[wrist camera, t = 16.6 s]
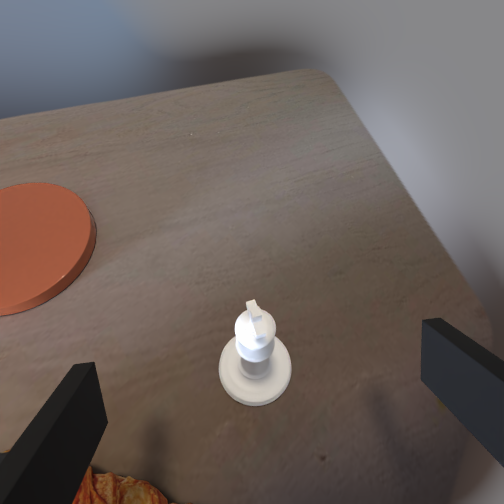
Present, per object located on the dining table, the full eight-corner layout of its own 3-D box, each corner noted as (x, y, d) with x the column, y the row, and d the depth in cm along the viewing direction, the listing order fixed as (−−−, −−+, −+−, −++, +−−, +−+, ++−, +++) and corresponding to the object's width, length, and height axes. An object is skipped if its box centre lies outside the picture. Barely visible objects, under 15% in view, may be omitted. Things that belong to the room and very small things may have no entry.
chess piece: (229, 416, 22) (213, 385, 14) (211, 342, 25) (189, 278, 16) (301, 392, 23) (330, 349, 15) (277, 323, 26) (289, 252, 17)
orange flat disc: (119, 261, 28) (114, 253, 27) (-39, 347, 25) (-51, 342, 24) (66, 172, 34) (60, 162, 32) (-72, 233, 30) (-83, 224, 29)
